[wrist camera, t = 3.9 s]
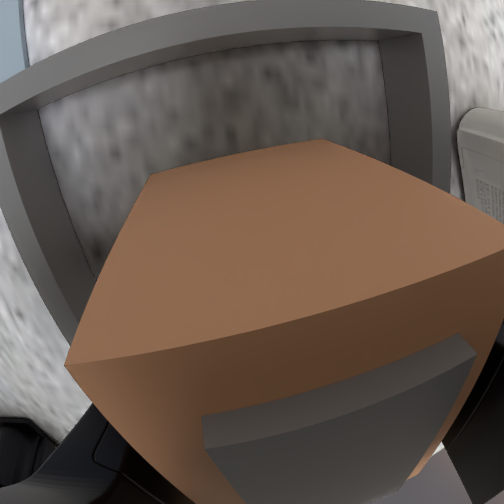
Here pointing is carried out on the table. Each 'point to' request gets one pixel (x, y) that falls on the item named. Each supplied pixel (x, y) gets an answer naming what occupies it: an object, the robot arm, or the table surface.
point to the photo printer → (483, 160)
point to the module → (291, 324)
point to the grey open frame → (190, 44)
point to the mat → (12, 39)
